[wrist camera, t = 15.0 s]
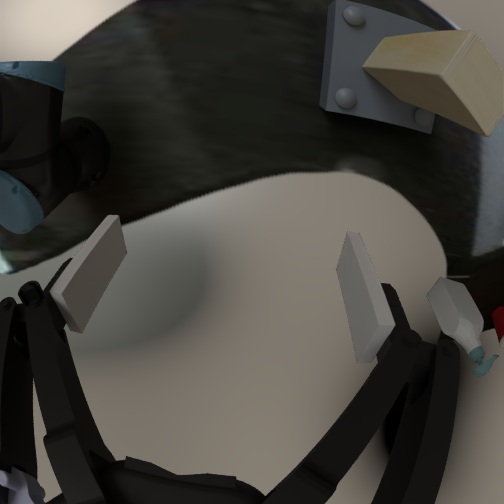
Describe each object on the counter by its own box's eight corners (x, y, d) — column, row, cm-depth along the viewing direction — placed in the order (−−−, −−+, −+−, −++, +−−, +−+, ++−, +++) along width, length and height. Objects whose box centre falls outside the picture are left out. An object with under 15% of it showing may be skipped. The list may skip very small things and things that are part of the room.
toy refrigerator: (424, 69, 30) (520, 90, 13) (400, 101, 34) (487, 140, 17) (386, 33, 28) (474, 23, 11) (360, 66, 32) (436, 75, 15)
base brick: (319, 105, 41) (327, 111, 36) (328, 6, 31) (337, -3, 25) (415, 125, 41) (433, 136, 35) (427, 35, 30) (448, 34, 25)
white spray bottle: (467, 279, 61) (510, 360, 39) (450, 300, 66) (486, 381, 44) (442, 271, 60) (488, 360, 38) (425, 294, 65) (462, 383, 43)
